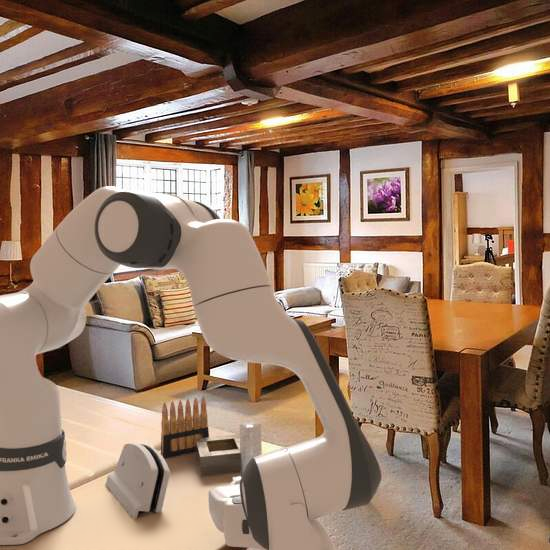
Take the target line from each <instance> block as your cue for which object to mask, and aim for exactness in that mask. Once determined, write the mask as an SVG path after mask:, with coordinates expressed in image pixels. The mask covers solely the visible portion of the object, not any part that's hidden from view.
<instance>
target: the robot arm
mask: <svg viewBox="0 0 550 550" xmlns="http://www.w3.org/2000/svg"><path fill="white" fill-rule="evenodd" d="M121 265H122V266H125V267H128V268H132V269H147V270H148V269H149V270H155V271H156V270H157V271H167V270H177V271H179V272H180V273H181V274H182V275H183V277H184V278H185V280H186V283H187V286H188V289H189V292H190V297H191V298H190V299H191V301H192V306H193V308H194V309H193V310H194V313H195V317H196V320H197V323H198V326H199V329H200V332H201V334H202V337H203V338H204V341H205V343H206V344H207V345H208V346H209V348H211V349H212V351H215V353H217V354H219V355H220V356H222V357H224V358H228V359H230V360H232V361H233V360H234V361H239V362H245V363H251V364H263V365H264V364H267V365H273V366H277V367H278V366H279V367H283V368H285V369H288V370H289V371H291V372H293V373H294V374H295V376H297V377H298V378H299V379H300V381H301V383H302V385H303V386H304V389H305V391H306V393H307V395H308V397H309V399H310V401H311V403H312V406H313V407H314V410H315V412H316V414H317V416H318V418H319V421H320V423H321V425H322V426H323V433H322V434H321V435H320V436H318V437H316V438H312V439H309V440H306V441H303V442H299V443H297V444H292V445H290V446H287V447H281V448H278V449H274V450H271V451H268V452H265V453H262V455H259V456H257V457H254V458H252V459H251V460H250V461H249V462H248V464H247V466H246V468H245V470H244V472H243V475H242V477H241V475H239V476H233V477H231V479H232V480H231V482H230V483H229V484H228V485H227V484H226V485H220V486H219V485H218V486H213V487H211V488H210V489H209V490H208V510H209V514H210V517H211V521H212V522H213V523H214V526H215V527H216V529H217V530H218V531H219V532H221V533H223V535H224V542H225V545H226V546H228V547H232V548H233V547H234V548H235V547H236V548H246V549H247V548H248V549H249V548H250V549H255V550H337V549H336V547H335V544H334V543H333V540H332V538H331V536H330V534H329V533H328V531H327V528H325V525H324V524H323V523H322V522H321V521H320V518H322V517H326V516H329V515H333V514H335V513H338V512H340V511H347V510H348V511H349V510H350V509H351V510H352V509H356V508H361V507H364V506H367V505H369V504H370V502H371V501H372V499H373V498H374V497H375V495H376V493H377V491H378V489H379V486H380V484H381V481H382V476H383V475H382V470H381V468H380V463H379V460H378V457H377V455H376V453H375V451H374V449H373V448H372V446H371V444H370V443H369V441H368V439H367V437H366V435H365V434H364V432H363V431H362V429H361V427H360V425H359V423H358V422H357V419H356V418H355V416H354V413H353V412H352V410H351V408H350V406H349V403H348V402H347V399H346V398H345V397H346V396H344V393H343V391H342V388H341V387H340V385H339V382H338V380H337V379H336V377H335V374H334V372H333V370H332V367H331V366H330V365H329V362H328V361H327V358H326V356H325V354H324V352H323V350H322V348H321V346H320V344H319V342H318V341H317V338H316V337H315V336H314V334H313V332H312V331H311V329H310V328H309V327H308V325H307V324H306V323H305V322H304V321H303V320H302V319H298V318H294V317H291V315H289V314H288V313H287V312H286V311H285V310H284V308H283V307H282V306H281V305H280V303H279V302H278V300H277V298H276V297H275V294H274V291H273V288H272V283H271V281H270V277H269V275H268V271H267V269H266V267H265V263H264V261H263V259H262V255H261V253H260V251H259V249H258V247H257V245H256V242H255V240H254V238H253V236H252V235H251V233H250V231H249V230H248V228H247V227H246V225H244V224H243V223H241V222H240V221H237V220H234V219H229V218H220V216H219V215H218V213H216V212H215V211H214V210H213V209H212V208H211V207H209V206H207V205H206V204H204V203H202V202H199V201H194V200H190V199H187V198H185V197H182V196H178V195H176V194H170V193H168V194H167V193H158V192H148V191H146V190H141V189H129V190H124V189H123V188H120V187H117V186H114V185H113V186H112V185H111V186H110V185H109V186H108V185H107V186H102V187H99V188H97V189H95V190H94V191H93V192H91V194H89V195H88V196H87V197H85V198H84V199H83V200H81V202H79V203H78V204H77V205H76V206H75V207H73V209H72V210H71V211H70V212H69V213H68V214H67V215H66V216H65V217H64V218H63V219H62V221H61V222H60V223H59V224H58V225H57V226H56V228H55V229H54V230H53V231H52V233H50V235H49V236H48V238H47V239H45V240H44V242H43V244H42V245H41V246H40V247H39V249H38V250H37V251H36V252H35V253H34V254H33V256H32V258H31V260H30V263H29V270H30V275H31V277H32V280H33V281H32V282H31V284H30V285H28V286H27V287H25V288H23V289H22V290H19V291H17V292H13V293H8V294H7V293H5V294H2V295H0V546H6V545H7V546H9V545H13V546H15V545H23V544H27V543H28V542H30V541H32V540H33V539H35V538H37V537H38V536H39V535H41V534H43V533H45V532H47V531H50V530H52V529H54V528H56V527H58V526H61V524H64V523H65V522H66V521H67V520H69V519H70V518H71V517H72V516H73V515H74V513H75V511H76V509H77V508H76V507H77V505H76V502H75V500H74V498H73V495H72V492H71V488H70V484H69V480H68V474H67V471H66V463H67V458H68V457H67V441H66V440H67V439H66V437H65V436H66V435H65V431H64V429H63V426H62V408H61V407H62V406H61V392H60V389H59V387H58V386H57V384H56V383H54V381H51V380H50V379H47V378H46V377H43V376H42V374H41V372H40V370H39V367H38V363H37V355H40V354H43V353H46V352H50V351H54V350H56V349H60V348H62V347H63V346H65V345H66V344H68V343H70V342H71V341H73V340H75V339H76V338H78V337H79V336H80V335H81V334H82V332H83V331H84V329H85V327H86V323H87V312H86V307H87V305H88V304H89V301H90V300H91V299H92V298H93V296H95V294H96V293H97V292H98V291H99V290H100V288H102V286H104V284H105V283H106V282H107V280H109V278H110V277H111V276H112V275H113V274H114V273H115V271H117V269H118V268H119V267H120V266H121Z"/></svg>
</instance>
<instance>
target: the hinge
mask: <svg viewBox="0 0 550 550" xmlns="http://www.w3.org/2000/svg"><path fill="white" fill-rule="evenodd" d="M170 472H171V471H170V468H169V466H168V464H167V462H166V460H165V459H164V458H163V456H162V455H161V452H160V451H158V449H156V448H155V447H153V446H150V445H148V444H142V443H133V442H132V443H126V444H124V445H123V447H122V449H121V453H120V455H119V458H118V462H117V464H116V467H115V470H114V471H112V472H111V473H109V474H108V475H107V478H106V482H105V486H106V488H108V490H110V492H111V493H112V494H113V496H114V497H115V498H116V499H117V501H118V502H119V503H120V504H121V506H122V507H123V508H124V510H125V511H126V512H127V513H128V514H129V515H130V517H131V518H132V519H133V520H135V519H137V518H138V515H139V512H146V513H149V512H150V511H151V510H153V511H154V512H155V513H160V512H163V506H164V501H165V497H166V493H167V488H168V484H169V479H170V474H171V473H170Z"/></svg>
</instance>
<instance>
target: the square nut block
mask: <svg viewBox="0 0 550 550" xmlns="http://www.w3.org/2000/svg"><path fill="white" fill-rule="evenodd" d="M195 458H196V462H197V466H198V471H199V475H200V477H207V476H216V475H217V474H218V475H225V474H232V473H233V474H236V473H241V452H240V433H239V434H229V435H219V436H209V437H207V438H201V437H200V438H197V439H196V452H195Z"/></svg>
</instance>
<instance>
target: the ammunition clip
mask: <svg viewBox="0 0 550 550" xmlns="http://www.w3.org/2000/svg"><path fill="white" fill-rule="evenodd" d="M200 400H201V401H200V408H199V402H198V401H199V400H198V398H197V397H194V399H193V404H192V407H191V403H190V400H189V398H187V399H186V401H185V412H184V406H183V403H182V402H183V401H182V400H181V399H179V401H178V404H177V414H176V406H175V402H174V400H172V401H171V403H170V407H169V411H168V406H167V404H166V402H163V404H162V409H161V421H160V422H161V425H160V426H161V434H160V436H161V437H160V440H161V441H160V454H161V455H162V456H163V458H164V460H165V459H168V458H169V459H170V458H174V457H179V456H185V455H189V454H192V453H193V454H194V453H196V439H197V438H207V437H210V433H209V427H208V426H209V425H208V424H209V422H208V412H207V403H206V402H207V401H206V398H205V396H202V397H201V399H200ZM191 408H192V410H191ZM199 409H200V410H199ZM168 412H169V413H168ZM184 413H185V414H184Z"/></svg>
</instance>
